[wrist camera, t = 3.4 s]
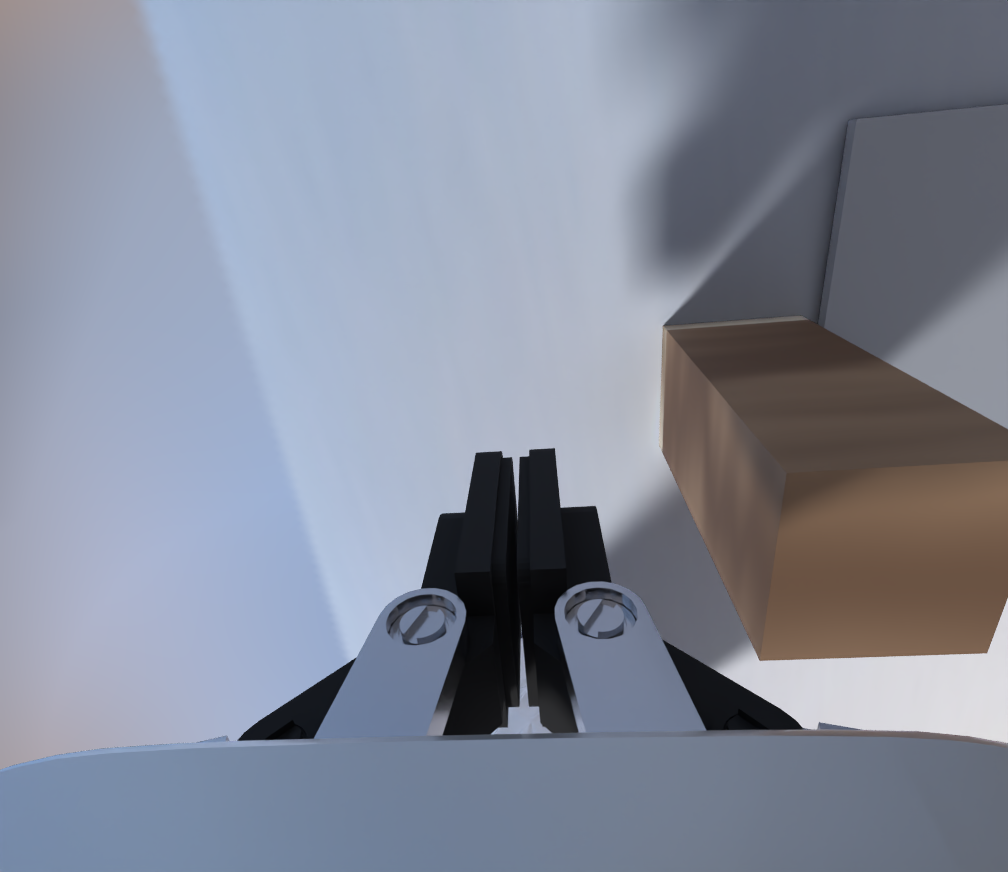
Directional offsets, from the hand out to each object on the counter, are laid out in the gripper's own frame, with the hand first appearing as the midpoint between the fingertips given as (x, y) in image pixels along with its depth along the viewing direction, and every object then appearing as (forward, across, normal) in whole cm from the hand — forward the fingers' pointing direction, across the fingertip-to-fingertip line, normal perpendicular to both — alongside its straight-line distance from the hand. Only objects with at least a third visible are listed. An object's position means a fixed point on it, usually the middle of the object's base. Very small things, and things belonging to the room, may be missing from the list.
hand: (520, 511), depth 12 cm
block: (+7, -6, 0) cm, 9 cm away
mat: (+7, -13, 0) cm, 14 cm away
